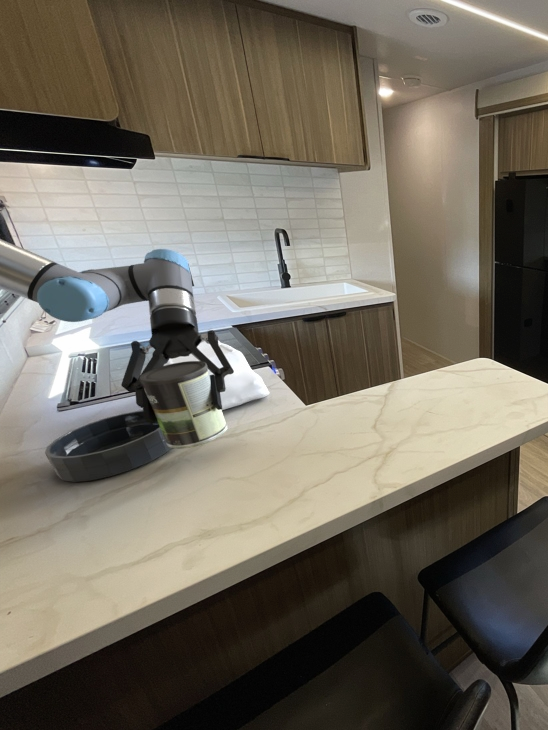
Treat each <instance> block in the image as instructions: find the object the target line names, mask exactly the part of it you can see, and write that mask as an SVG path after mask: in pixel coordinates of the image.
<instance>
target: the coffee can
mask: <svg viewBox="0 0 548 730" xmlns="http://www.w3.org/2000/svg"><path fill="white" fill-rule="evenodd" d="M207 368H208V366H207V364H206V363H205V362H201V361H188V362H180V363H174V364H170V365H165V366H162V367H158V368H156V369H153V370H150V371H148V372H146V373H144V374H142V375H141V376H140V377H139V380H140V382H141V383H142V385H143V387H144V390H145V392H146V394H147V397H148V399H149V401H150V404H151V406H152V409H153V411H154V413H155V416H156V418H157V421H158V423H159V425H160V428H161V430H162V433H163V435H164V438H165V440H166V444H167V446H169V447H170V448H171V449H179V450H180V449H189V448H194V447H197V446H201V445H205V444H208V443H209V442H212V441H214V440H215V439H218V438H219V437H221V436H222V435H224V433H226V432H227V431H228V428H229V427H228V424H227V422H226V419H225V416H224V413H223V410H221V409H220V410H218V409H217V408H216V407H215V406H214V404H213V397H212V390H211V381H210V375H209V372H208V369H207Z"/></svg>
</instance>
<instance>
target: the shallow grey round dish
mask: <svg viewBox="0 0 548 730" xmlns="http://www.w3.org/2000/svg"><path fill="white" fill-rule="evenodd" d="M155 420H156V423H154V424H150V423H148V422H147V421H145V420H144V414H143V409H142V410H135V411H130V412H124V413H120V414H115V415H112V416H108V417H105V418H101V419H99V420H98V419H97V420H95V421H93V422H89V423H86V424H84V425H82V426H79V427H77V428H75V429H72V430H70V431H68V432H67V433H65V434H63V435H61V436H59V437H57V438H55V439H54V440H53V441H52V442H51V443H49V444H48V445H47V446H46V448H45V451H44V455H45V457H46V458H47V460H48V461H49V463H50V465H51V467H52V469H53V471H54V472H55V474H56V476H57V477H58V478H59V479H61V480H62V481H65V482H73V483H76V482H77V483H78V482H88V481H96V480H100V479H104V478H108V477H113V476H116V475H119V474H122V473H126V472H129V471H131V470H134V469H136V468H139V467H141V466H143V465H146V464H148V463H150V462H152V461H154V460H156V459H157V458H160V457H161V456H163V455H165V454H167V453H168V452H169V451H170V450H171V449H172V448H170V447H169V446H167V444H166V440H165V438H164V435H163V433H162V430H161V428H160V425H159V423H158V421H157V418H156V416H155Z"/></svg>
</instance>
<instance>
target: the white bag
mask: <svg viewBox="0 0 548 730" xmlns="http://www.w3.org/2000/svg"><path fill="white" fill-rule="evenodd" d="M218 344H219V347H220V348H221V350H222V352H223V353H224V355H225V357H226V359H227V360H228V362H229V364H230V365H231V367H232V369H233V370H234V373H233V374H228V375H226V376H225V377H224V382H225V388H226V390H225V392H220V396H221V403H222V409H221V410H222V411H224V410H228V409H231V408H234V407H238V406H240V405H243V404H246V403H249V402H251V401H256V400H260V399H263V398H266V397H267V396H269V395H270V391H269V389H268V387H267V386H266V384H265V382H264V380H263V378H262V377H261V376H260V375H259V374H258V373H256V372H255V371H254V370H253V369H252V368H251V366H250V364H249V363H248V361H247V359H246V357H245V355H244V354H243V352H241V351H240V350H238V349H235V348H234V347H232V346H231V345H229V344H226V343H223V342H221V341H220V339H218ZM197 348H198V349H199V350H200V351H201V352H202V353H203V354H204V355H205V356H206V357H207V358H208V359H209V360H210V361H211V362H212V363H214V364H215V365H216V366H217V367H218V368H219V369H220V368H222V367H223V366H222V364H221V362H220V361H219V359H218V357H217V355H216V354H215V352H214V350H213V349H212V347H211V345H210V344H207V343H206V342H205V340H203V341H201V343H200V344H199V345H198V347H197ZM188 361H199V360H198V359H197V358H195V357H194V356H193V355H192V354H190V355H189V356H185V357H182V356H180V357H177V358H173V359H171V358H170V359H169V361H168V362H167V363H166V364H164V366H165V365H170V364H174V363H180V362H188ZM207 369H208V368H207ZM208 372H209V375H214V374H213V373H212V372H211V371H210V370H209V369H208Z"/></svg>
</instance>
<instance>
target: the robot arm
mask: <svg viewBox="0 0 548 730" xmlns="http://www.w3.org/2000/svg"><path fill="white" fill-rule="evenodd" d="M192 277H193V276H192V273H191V270H190V267H189V261H188V259H187V258H186V257H185V256H184V255H182V254H181V253H180V252H178V251H175V250H172V249H167V248H155V249H153V250H151V251H150V252H147V253H146V254H145V255H144V260H143V262H142V263H136V264H130V265H124V266H115V267H114V266H113V267H105V268H95V269H92V268H91V269H86V270H82V271H77V270H75V269H72V268H69V267H68V266H65V265H62V264H60V263H57V262H55V261H53V260H51V259H49V258H47V257H44V256H42V255H39V254H37V253H34V252H32V251H30V250H28V249H26V248H23V247H20V246H19V245H16V244H14V243H11V242H9V241H6V240H4V239H1V238H0V290H3V291H5V292H8V293H11V294H14V295H16V296H19V297H22V298H24V299H27V300H30V301H33V302H35V303H37V304H38V305H39V307H40V308H41V310H43V312H45V313H46V314H48V316H51V317H52V318H54V319H55V320H59V321H62V322H67V323H79V322H84V321H85V322H86V321H88V320H93V319H96V318H98V317H100V316H102V315H103V314H104V313H108V312H110V311H112V310H115V309H117V308H119V307H122V306H125V305H129V304H135V303H142V302H148V311H149V320H150V321H149V322H150V333H151V337H150V339H149V340H148V341H143V342H139V341H138V340H133V341H132V342H131V343H130V347H131V355H130V357H129V360H128V363H127V366H126V369H125V372H124V374H123V375H124V376H123V378H122V381H121V384H120V385H121V386H120V387H122V388H123V389H124V390H126V391H127V392H129V393H135V403H136V405H137V406H138V407H139V408H142V410H143V414H144V420H145V421H147V422H148V423H150V424H154V423H156V420H155V413H154V411H153V409H152V406H151V404H150V401H149V399H148V397H147V394H146V392H145V390H144V387H143V385H142V383H141V382H140V380H139V377H140V376H141V375H142V374H144V373H146V372H148V371H150V370H153V369H156V368H158V367H162V366H164V364H166V363H167V362H168V361H169V359H170V358H171V359H173V358H177V357H180V356H182V357H185V356H189V355H190V354H192V355H193V356H194V357H195V358H197V359H198V360H199V361H201V362H205V363H206V364H207V366H208V369H209V370H210V371H211V372H212V373H213V374H214V375H210V381H211V390H212V397H213V404H214V406H215V407H216V408H217V409H218V410H220V409H222V403H221V396H220V392H225V390H226V388H225V382H224V377H225V376H226V375H228V374H233V373H234V370H233V369H232V367H231V365H230V364H229V362H228V360H227V359H226V357H225V355H224V353H223V352H222V350H221V348H220V347H219V344H218V340H219V337H218V335H217V334H216V332H215V330H212V329H211V330H208V331H207V332H206V333H200V332H199V326H198V317H197V316H196V315H197V312H196V311H197V309H196V303H195V297H194V290H193V289H194V288H193V281H192ZM203 341H205V342H206V343H207V344H210V345H211V347H212V349H213V350H214V352H215V354H216V355H217V357H218V359H219V361H220V362H221V364H222V366H223V367H222V368H220V369H219V368H218V367H217V366H216V365H215V364H214V363H212V362H211V361H210V360H209V359H208V358H207V357H206V356H205V355H204V354H203V353H202V352H201V351H200V350H199V349H198V348H197V347H198V345H199V344H200V343H201V342H203ZM151 348H153V349H154V350H153V352H152V355H151V356H152V357H150V360H149V361H148V362H147V364H146V366H145V367H144V365H145V362H146V359H147V354H149V350H150V349H151ZM143 368H144V369H143Z"/></svg>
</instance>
